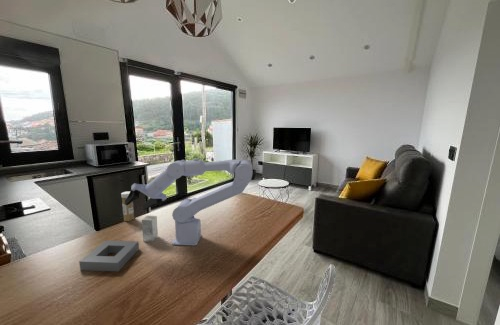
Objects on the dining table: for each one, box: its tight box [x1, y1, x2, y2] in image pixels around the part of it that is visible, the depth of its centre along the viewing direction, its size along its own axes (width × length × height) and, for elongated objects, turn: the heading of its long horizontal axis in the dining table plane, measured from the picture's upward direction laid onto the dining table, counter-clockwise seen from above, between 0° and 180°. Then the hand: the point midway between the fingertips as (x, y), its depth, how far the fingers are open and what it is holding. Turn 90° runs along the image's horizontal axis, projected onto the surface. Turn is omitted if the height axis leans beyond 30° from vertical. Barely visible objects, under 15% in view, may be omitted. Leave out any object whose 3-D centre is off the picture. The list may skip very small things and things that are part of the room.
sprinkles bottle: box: [120, 190, 135, 222], centre depth 99 cm, size 5×5×14 cm
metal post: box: [141, 215, 159, 243], centre depth 84 cm, size 4×4×9 cm
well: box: [78, 239, 140, 272], centre depth 72 cm, size 12×12×3 cm
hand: (135, 205), depth 82 cm, fingers open, 7 cm apart
